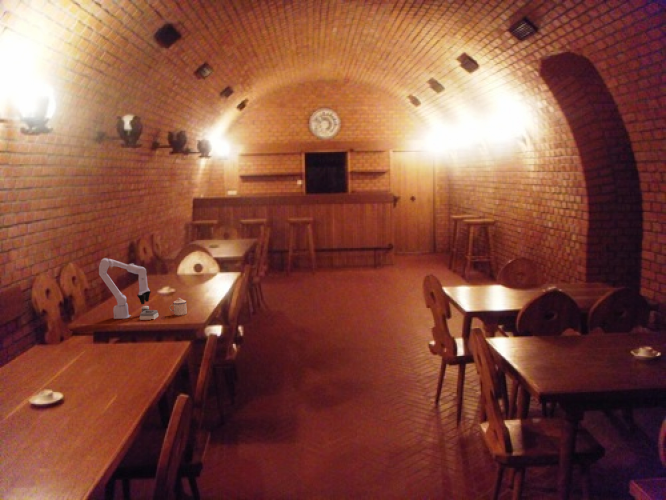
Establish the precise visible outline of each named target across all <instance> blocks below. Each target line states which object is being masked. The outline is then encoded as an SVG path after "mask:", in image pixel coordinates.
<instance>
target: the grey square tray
mask: <svg viewBox="0 0 666 500" xmlns="http://www.w3.org/2000/svg"><path fill="white" fill-rule="evenodd" d="M139 314H140V316H139V320H140V321H141V320H143V321H145V320H146V321H147V320H151V319H154V320H156V319H157V318H158V317H159V312H158V309H149V310H145V311H143V312H142V311H141V312H140V313H139Z"/></svg>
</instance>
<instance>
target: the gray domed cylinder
mask: <svg viewBox="0 0 666 500" xmlns="http://www.w3.org/2000/svg"><path fill="white" fill-rule="evenodd" d="M145 310H150V306H149V305H143V306H141V313H142V312H143V311H145Z"/></svg>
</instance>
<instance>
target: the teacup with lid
mask: <svg viewBox="0 0 666 500" xmlns="http://www.w3.org/2000/svg"><path fill="white" fill-rule="evenodd" d="M172 306H173V309H172V308H171V307H172ZM168 308H169V310H170V311H171V312H173V313H174V316H184V315H187V314H188V311H187V309H188V308H187V300H184V299H182V298H181V297H177V299H176V300H175V301H173V302H172V304H170V305H169V307H168Z"/></svg>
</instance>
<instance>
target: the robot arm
mask: <svg viewBox="0 0 666 500" xmlns="http://www.w3.org/2000/svg"><path fill="white" fill-rule="evenodd" d="M113 267H118V268H121V269H125V270H126V271H127V272H128V273H132V274H134V275H138V287H139V290H138V294H137V295H136V297H138V299H139V302H140V303H141V305H145V302H149V301H150V300H149V299H150V296H151V293H152V292H151V290H150V288H149V286H148V277H147V273H148V272H147V268H145V267H144V266H141V265H137V264H135V263H132V262H131V263H129V264H127V263H124V262H122V261H118V260H115V259H111V258H108V257H103V258H102V259H101V260H100V262H99V266H98V275H99V277H100V278H101V279H102V281H103V282H104V283H105V285H106V287H108V289H109V290H110V292H111V293H112V295H113V296H114V298H115V300H116V303H117V304H116V305H114V306H113V309H112V310H113V319H114V320H115V319H116V320H117V319H118V320H119V319H123V320H124V319H128V318H130V317H131V316H132V315H131V314H129V306H128V303H127V296H126V295H125V294H123V292H121V290H119V288H118V286H116V284H115V283H114V281H113V280H112V278H111V277H110V275H109V274H108V269H109V268H113Z"/></svg>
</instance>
